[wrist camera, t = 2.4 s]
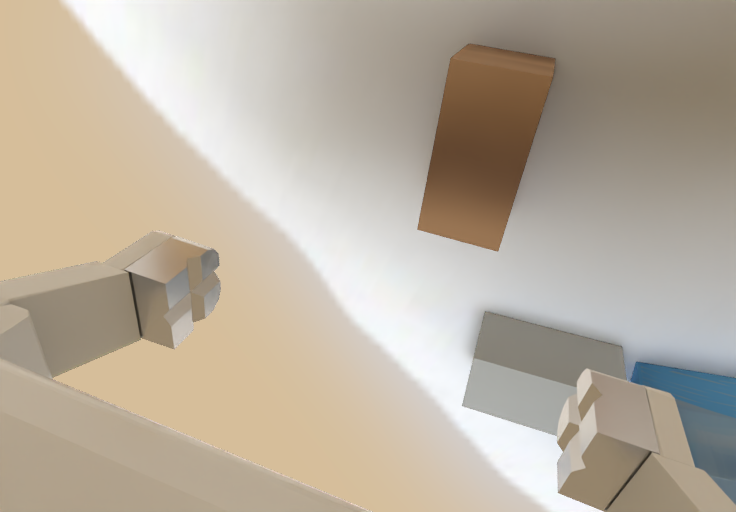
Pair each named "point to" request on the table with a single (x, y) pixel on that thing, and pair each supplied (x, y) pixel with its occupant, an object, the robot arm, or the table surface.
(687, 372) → the perfume bottle
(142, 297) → the robot arm
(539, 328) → the slate block
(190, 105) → the table surface
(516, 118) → the walnut block
